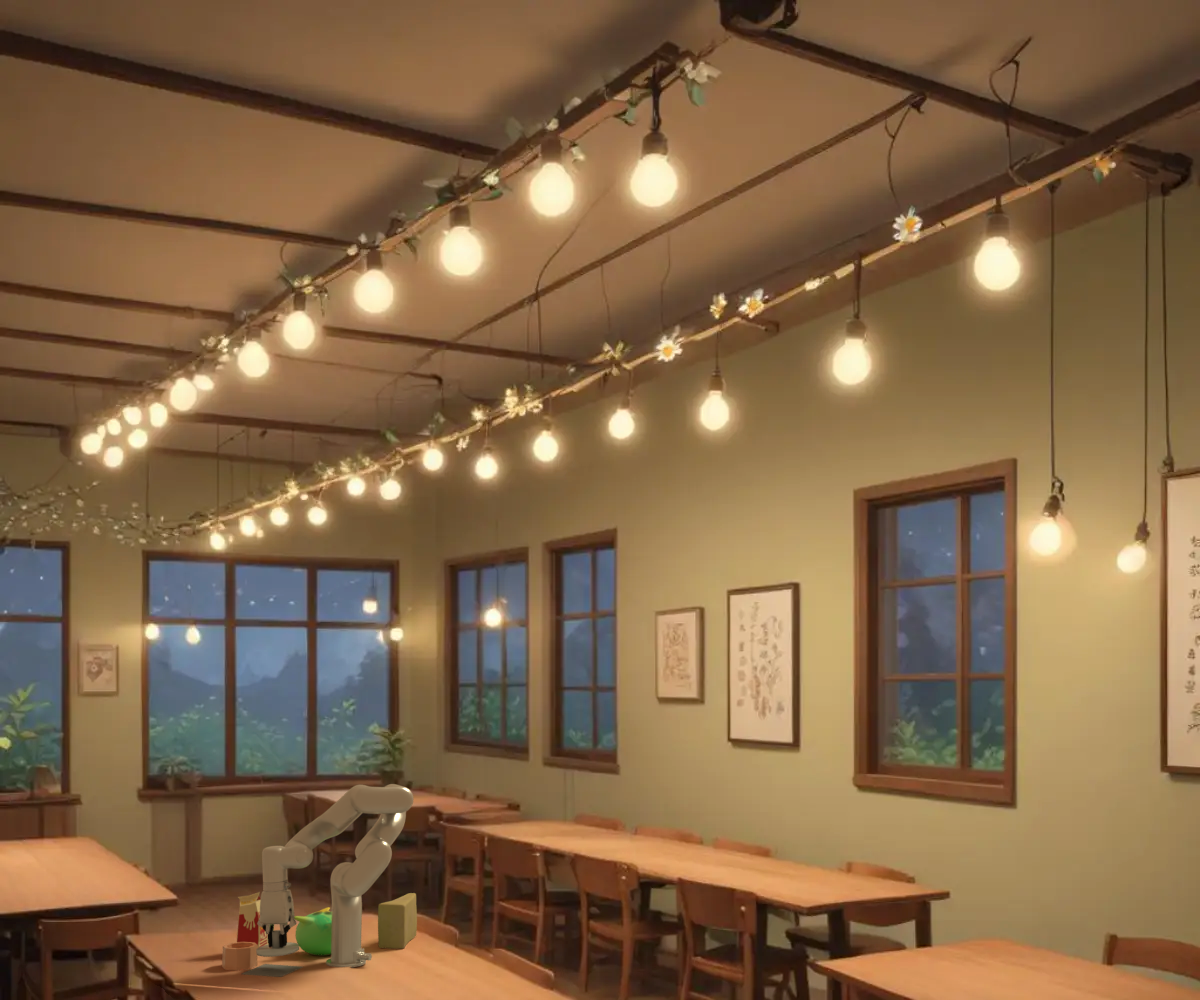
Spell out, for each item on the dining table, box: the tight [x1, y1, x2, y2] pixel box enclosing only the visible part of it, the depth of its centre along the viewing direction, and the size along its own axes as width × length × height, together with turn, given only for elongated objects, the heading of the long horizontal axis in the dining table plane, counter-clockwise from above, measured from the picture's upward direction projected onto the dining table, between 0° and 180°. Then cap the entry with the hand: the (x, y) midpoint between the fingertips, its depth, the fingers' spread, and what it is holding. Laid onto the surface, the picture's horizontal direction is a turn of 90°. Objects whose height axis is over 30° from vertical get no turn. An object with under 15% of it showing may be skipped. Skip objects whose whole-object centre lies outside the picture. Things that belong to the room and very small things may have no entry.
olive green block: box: [377, 892, 418, 950], centre depth 455 cm, size 22×10×15 cm, turn 166°
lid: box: [256, 929, 300, 958], centre depth 412 cm, size 13×13×6 cm
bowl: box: [221, 941, 258, 971], centre depth 417 cm, size 10×10×7 cm
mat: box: [241, 963, 303, 978], centre depth 411 cm, size 14×14×1 cm
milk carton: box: [236, 891, 268, 948], centre depth 438 cm, size 9×9×20 cm
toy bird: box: [294, 906, 332, 956], centre depth 435 cm, size 18×17×15 cm
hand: (277, 945), depth 412 cm, fingers closed on lid, 3 cm apart
